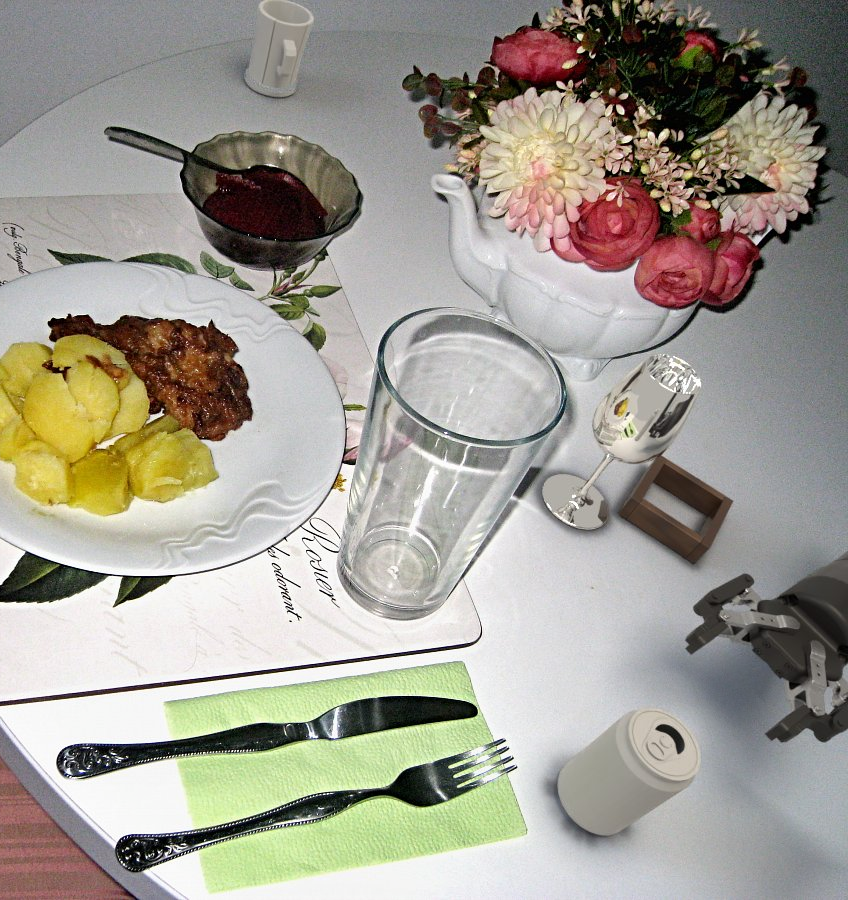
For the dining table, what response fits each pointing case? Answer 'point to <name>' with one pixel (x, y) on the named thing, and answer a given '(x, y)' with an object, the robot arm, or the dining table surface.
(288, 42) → the cup
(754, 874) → the dining table surface
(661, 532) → the frame
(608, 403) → the wineglass
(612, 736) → the beverage can
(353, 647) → the dining table surface
